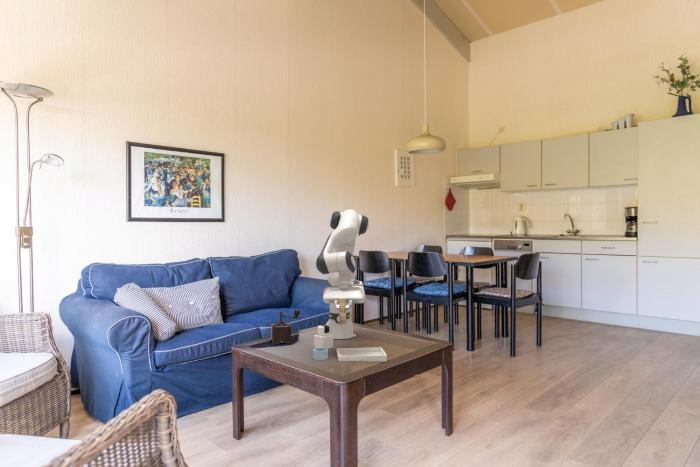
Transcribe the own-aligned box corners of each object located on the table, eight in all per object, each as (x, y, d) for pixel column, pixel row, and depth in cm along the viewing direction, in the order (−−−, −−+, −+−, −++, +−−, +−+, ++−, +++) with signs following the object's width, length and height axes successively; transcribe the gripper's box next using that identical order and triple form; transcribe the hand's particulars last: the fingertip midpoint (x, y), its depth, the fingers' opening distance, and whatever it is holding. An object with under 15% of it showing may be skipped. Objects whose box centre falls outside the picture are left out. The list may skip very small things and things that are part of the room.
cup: (312, 358, 214) (312, 347, 214) (327, 358, 215) (327, 347, 215) (313, 362, 208) (313, 351, 208) (328, 362, 208) (328, 350, 208)
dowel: (339, 324, 215) (338, 298, 215) (346, 323, 215) (345, 298, 215) (339, 325, 212) (339, 299, 212) (346, 325, 212) (345, 299, 212)
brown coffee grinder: (271, 345, 242) (271, 310, 243) (270, 340, 253) (270, 307, 253) (301, 343, 246) (301, 309, 246) (298, 339, 257) (298, 306, 257)
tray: (336, 354, 222) (336, 348, 222) (381, 353, 224) (381, 347, 224) (338, 363, 206) (338, 356, 206) (387, 362, 208) (387, 355, 208)
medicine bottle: (324, 347, 237) (324, 323, 238) (333, 349, 232) (333, 325, 233) (313, 349, 232) (313, 325, 233) (322, 351, 227) (322, 327, 228)
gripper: (323, 282, 222) (319, 305, 213) (365, 281, 219) (363, 305, 209) (325, 290, 227) (321, 313, 217) (366, 290, 223) (364, 313, 214)
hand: (342, 309), depth 213 cm, fingers closed on dowel, 3 cm apart
